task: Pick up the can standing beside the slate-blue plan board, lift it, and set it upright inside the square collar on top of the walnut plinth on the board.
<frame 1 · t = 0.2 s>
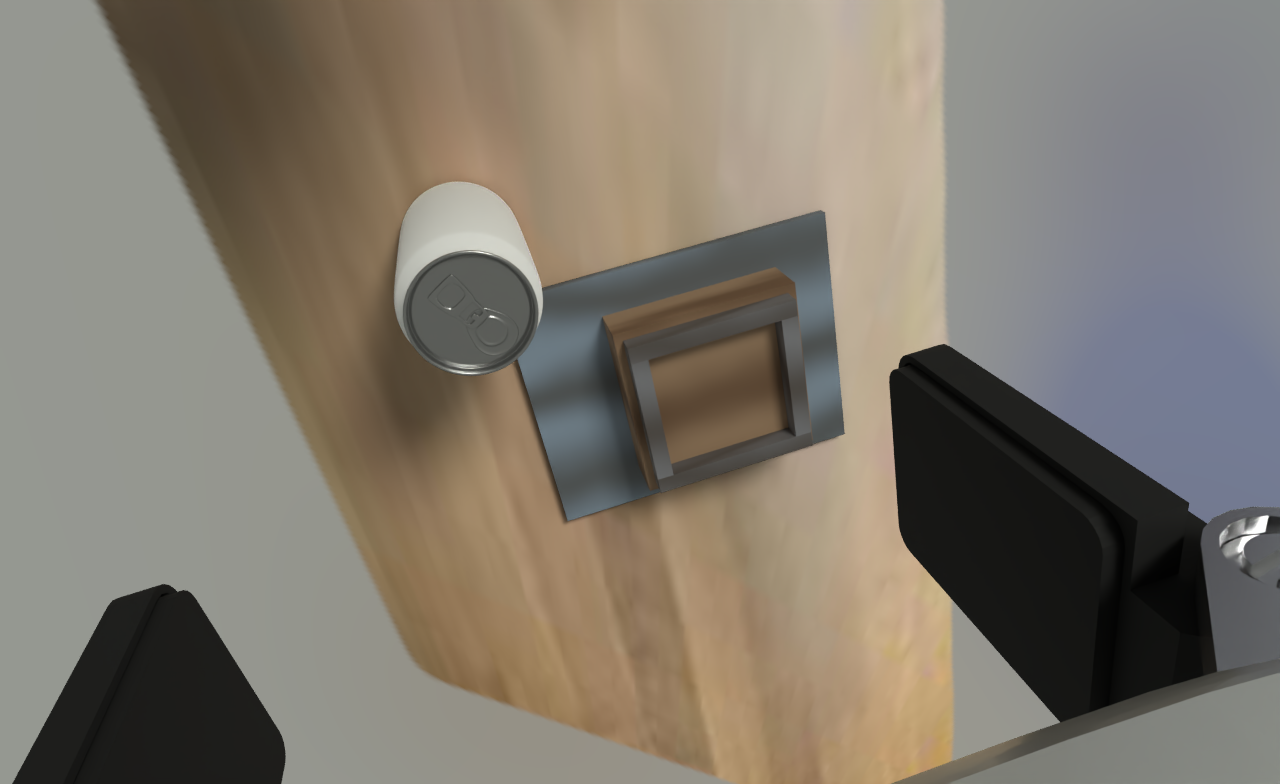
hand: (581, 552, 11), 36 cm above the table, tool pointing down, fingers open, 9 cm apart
plan board: (701, 366, 51), on the table
can: (461, 237, 44), on the table
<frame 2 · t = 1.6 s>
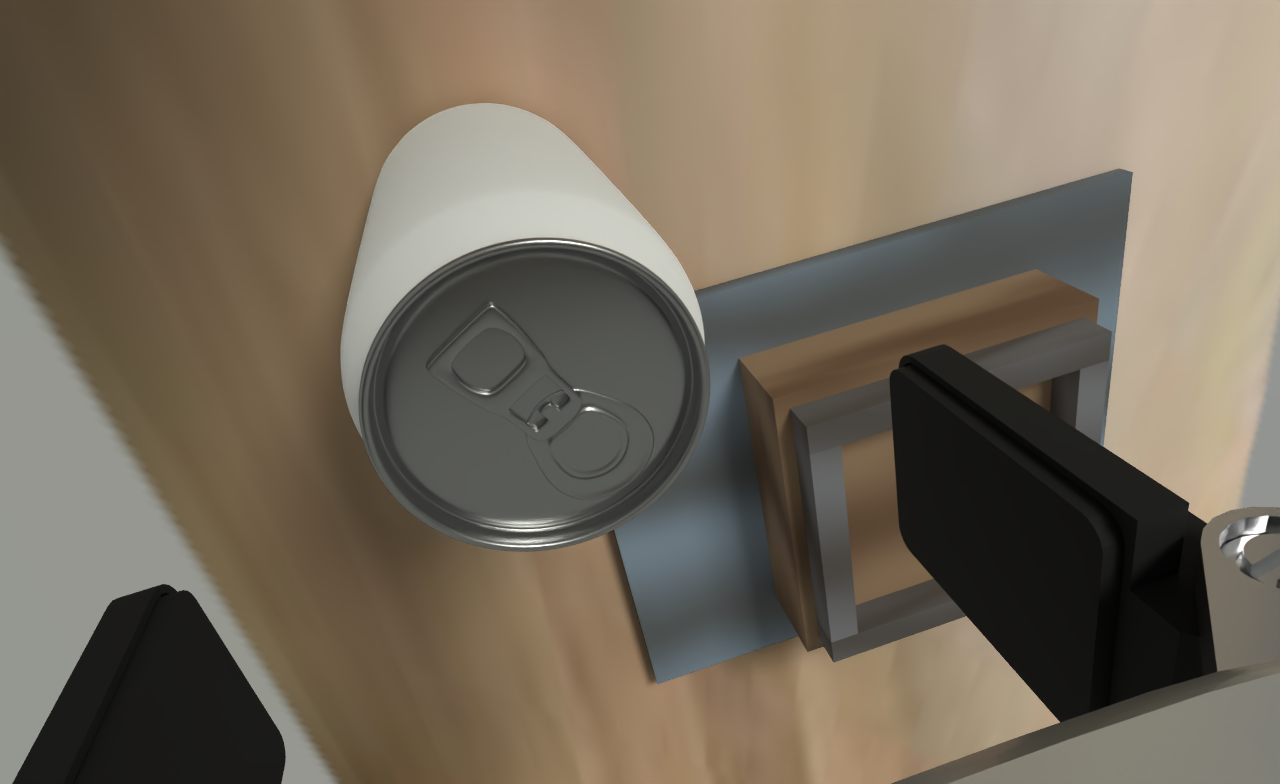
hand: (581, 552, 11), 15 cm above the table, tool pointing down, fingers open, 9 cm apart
plan board: (888, 436, 30), on the table
can: (489, 215, 23), on the table
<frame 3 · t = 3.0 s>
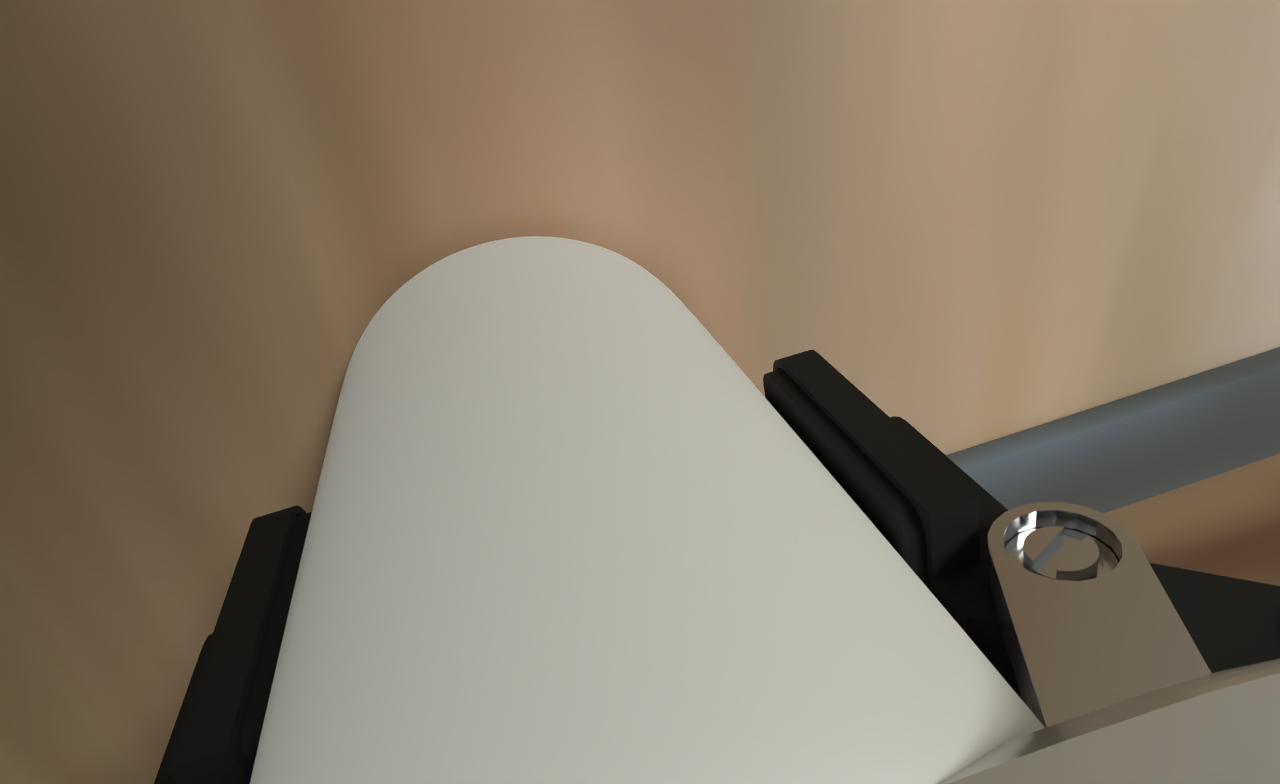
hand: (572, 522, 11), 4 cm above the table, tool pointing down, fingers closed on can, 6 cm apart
plan board: (1091, 656, 21), on the table
can: (532, 401, 14), on the table, touching gripper
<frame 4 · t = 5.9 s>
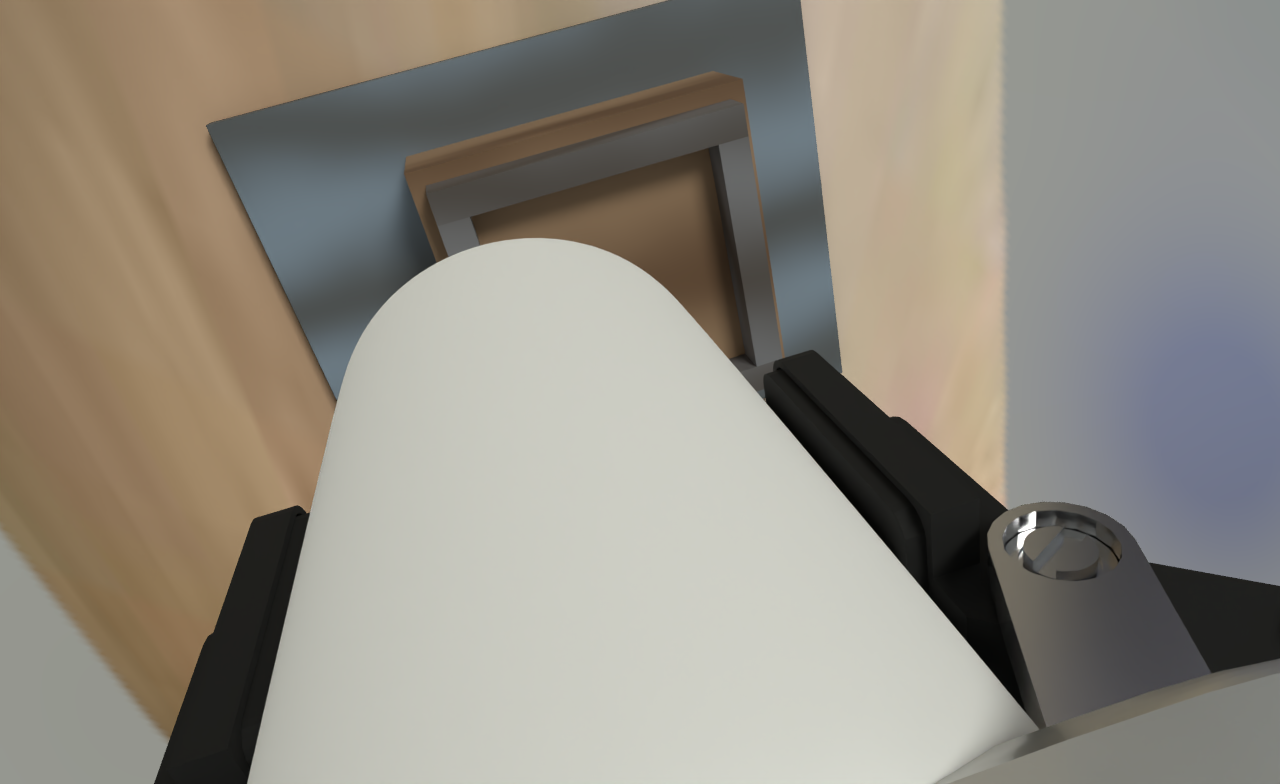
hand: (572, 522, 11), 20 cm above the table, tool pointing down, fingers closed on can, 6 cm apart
plan board: (598, 257, 31), on the table
can: (531, 402, 14), point 16 cm above the table, touching gripper
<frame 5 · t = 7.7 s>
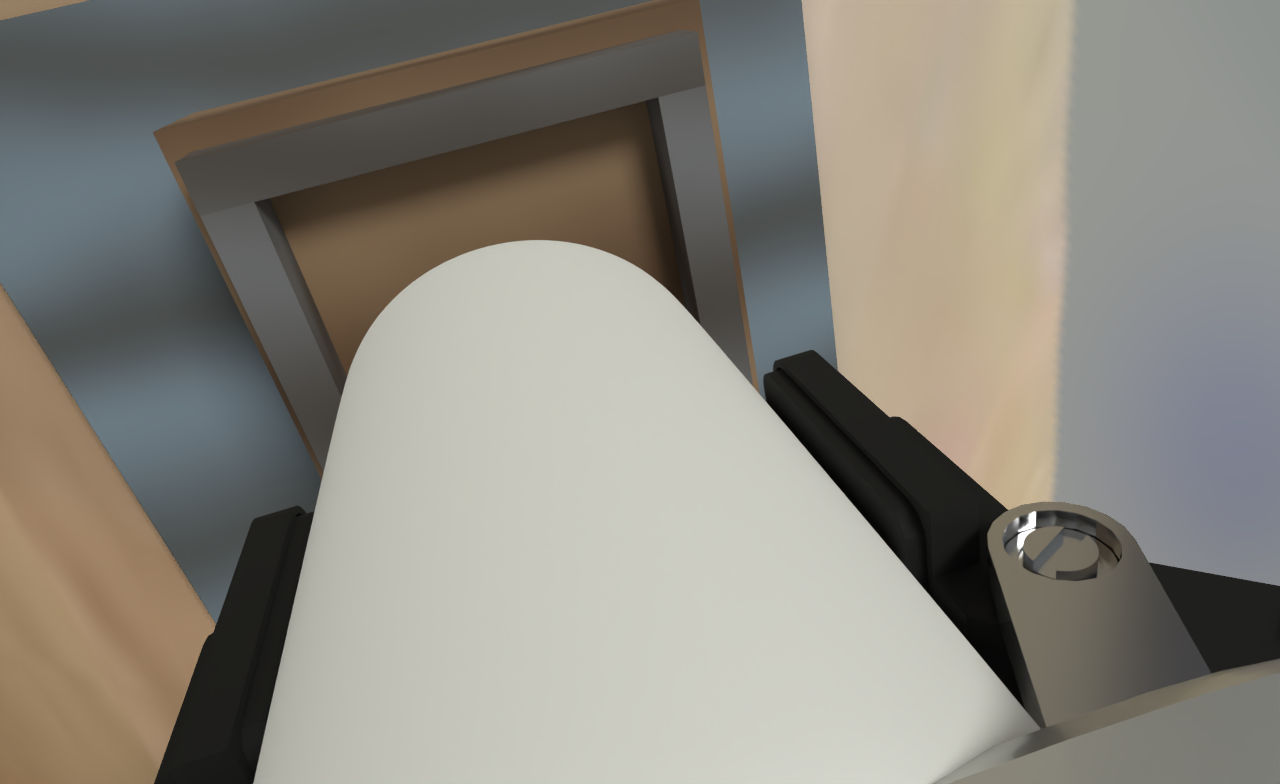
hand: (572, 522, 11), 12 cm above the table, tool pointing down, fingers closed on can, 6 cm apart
plan board: (501, 268, 22), on the table
can: (533, 404, 14), point 8 cm above the table, touching gripper
when the fingers open (8 cm above the table, at t = 8.9 s): can stays where it is, resting on plan board.
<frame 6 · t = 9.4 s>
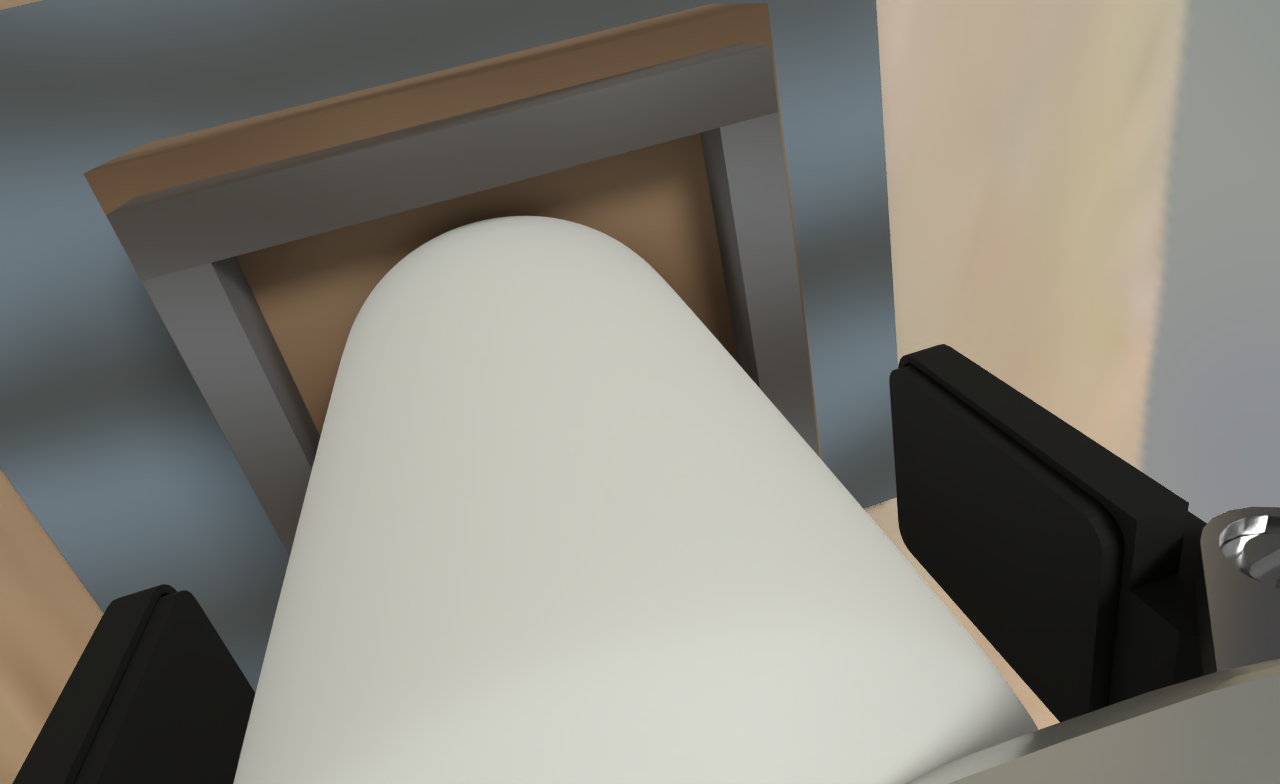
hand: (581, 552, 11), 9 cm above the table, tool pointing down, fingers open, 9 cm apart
plan board: (516, 320, 18), on the table
can: (522, 375, 15), point 3 cm above the table, touching plan board
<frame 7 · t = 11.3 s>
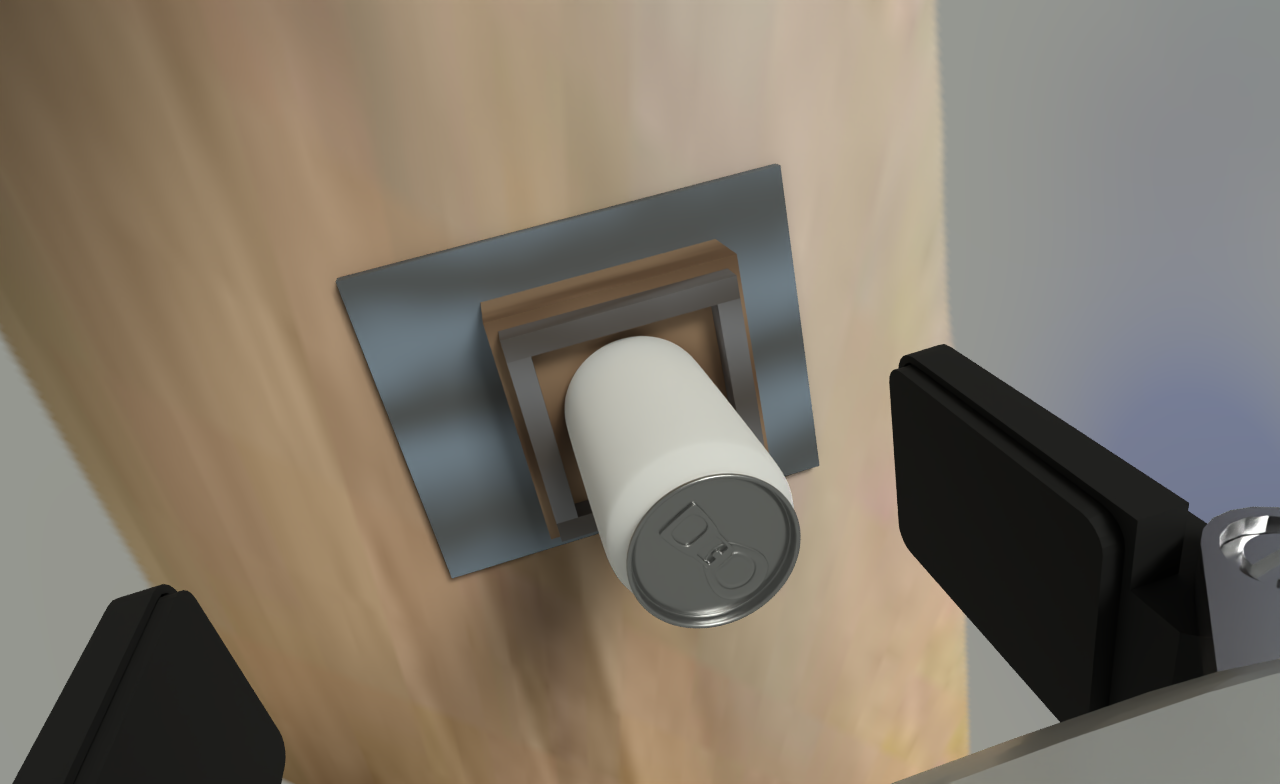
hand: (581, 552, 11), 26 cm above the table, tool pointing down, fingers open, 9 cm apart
plan board: (623, 374, 39), on the table
can: (634, 399, 36), point 3 cm above the table, touching plan board
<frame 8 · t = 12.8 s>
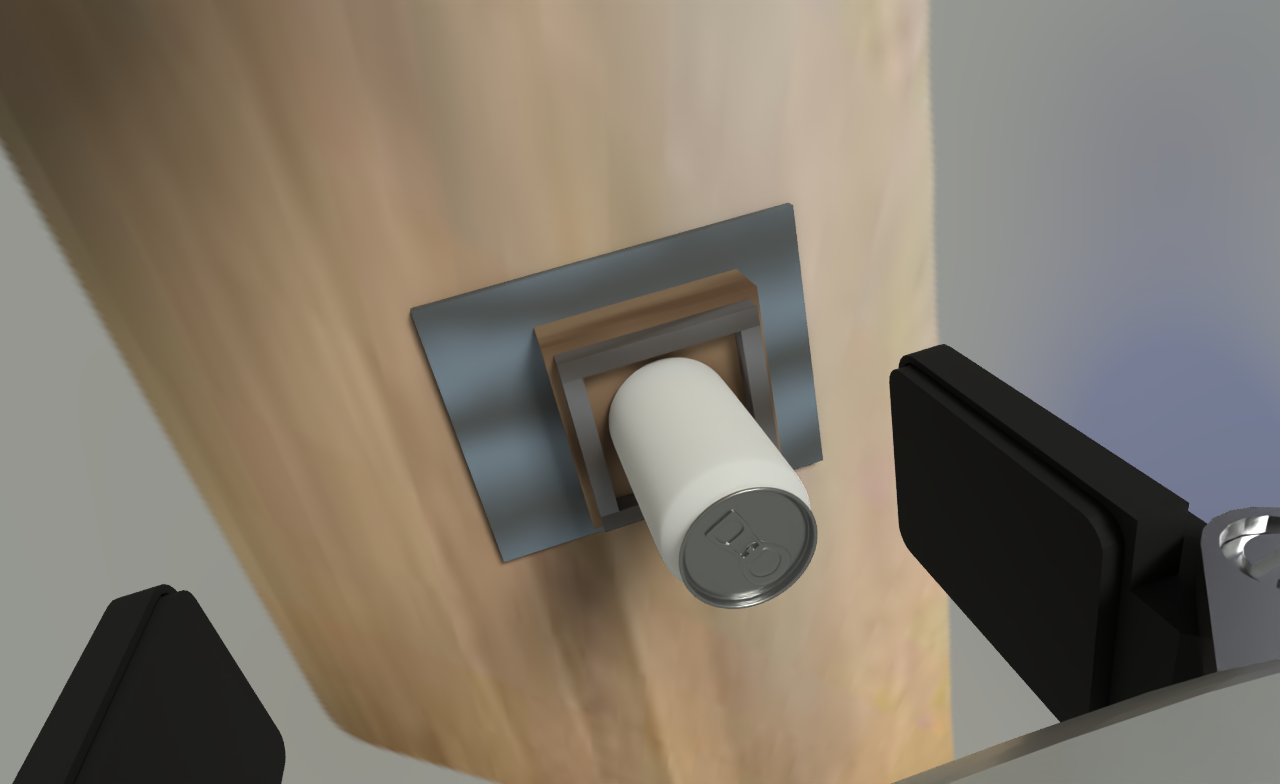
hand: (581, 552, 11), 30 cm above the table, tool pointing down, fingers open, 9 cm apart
plan board: (654, 384, 44), on the table
can: (666, 409, 41), point 3 cm above the table, touching plan board
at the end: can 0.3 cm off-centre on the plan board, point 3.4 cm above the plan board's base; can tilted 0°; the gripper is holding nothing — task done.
